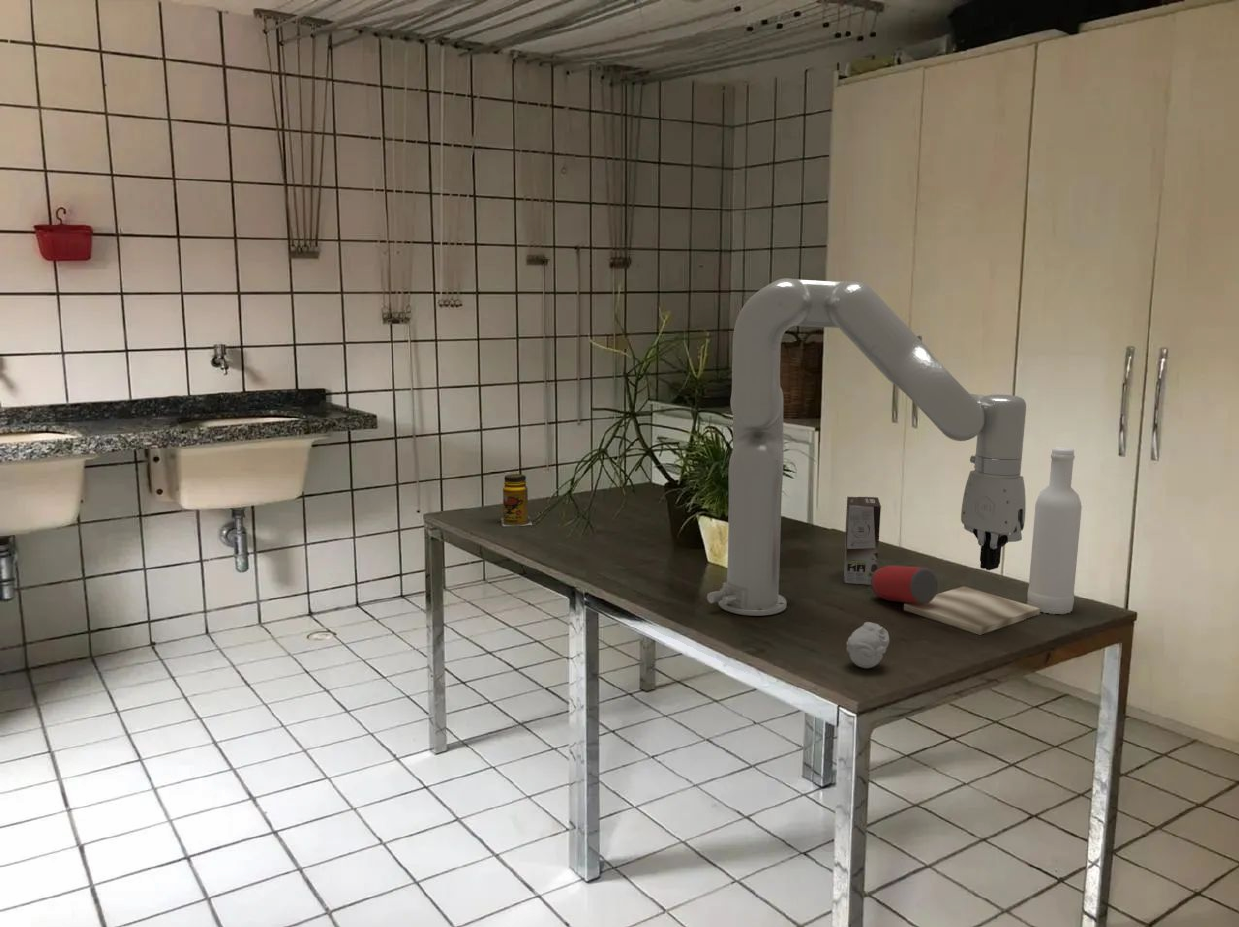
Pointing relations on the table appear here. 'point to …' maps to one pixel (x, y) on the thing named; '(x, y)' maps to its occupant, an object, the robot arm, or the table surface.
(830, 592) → the table surface
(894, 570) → the beer can
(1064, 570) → the bottle
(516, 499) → the condiment
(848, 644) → the frog figurine
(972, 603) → the birch board
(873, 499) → the coffee box
